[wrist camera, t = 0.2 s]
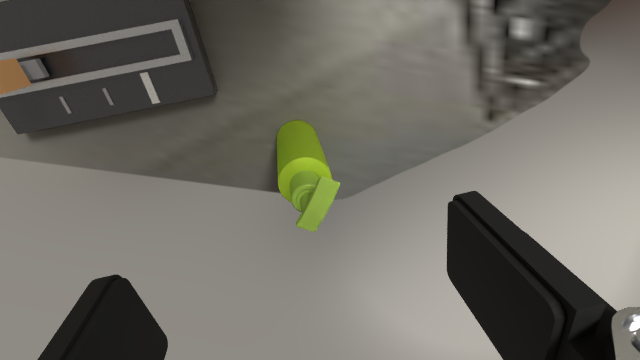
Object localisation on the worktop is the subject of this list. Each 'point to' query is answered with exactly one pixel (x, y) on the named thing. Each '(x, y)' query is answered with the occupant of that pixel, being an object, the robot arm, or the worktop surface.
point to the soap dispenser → (304, 173)
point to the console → (101, 58)
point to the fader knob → (19, 74)
